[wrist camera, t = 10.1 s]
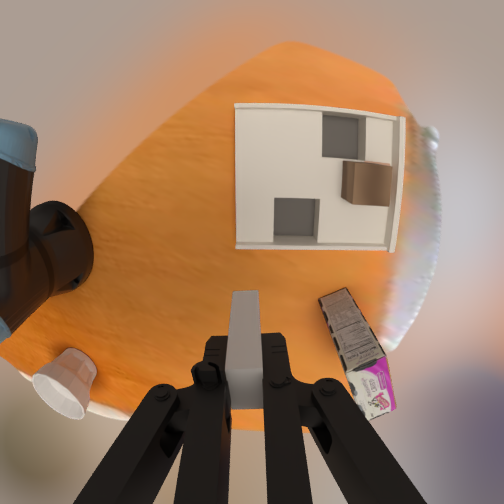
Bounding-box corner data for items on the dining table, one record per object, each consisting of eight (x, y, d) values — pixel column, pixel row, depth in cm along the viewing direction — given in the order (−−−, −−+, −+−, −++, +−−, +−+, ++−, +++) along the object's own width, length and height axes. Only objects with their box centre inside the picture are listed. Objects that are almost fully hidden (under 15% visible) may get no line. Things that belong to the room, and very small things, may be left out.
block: (340, 197, 33) (352, 204, 29) (342, 160, 31) (354, 162, 27) (374, 199, 33) (389, 206, 29) (376, 163, 31) (392, 166, 27)
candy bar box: (364, 337, 44) (398, 409, 28) (337, 348, 45) (362, 424, 29) (347, 284, 40) (388, 356, 25) (316, 297, 41) (343, 375, 26)
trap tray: (237, 238, 38) (235, 251, 33) (237, 108, 32) (233, 102, 28) (379, 240, 38) (394, 252, 33) (388, 119, 32) (405, 117, 27)
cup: (47, 342, 47) (22, 373, 37) (83, 336, 45) (55, 372, 35) (78, 385, 51) (58, 418, 41) (116, 383, 49) (96, 421, 39)
